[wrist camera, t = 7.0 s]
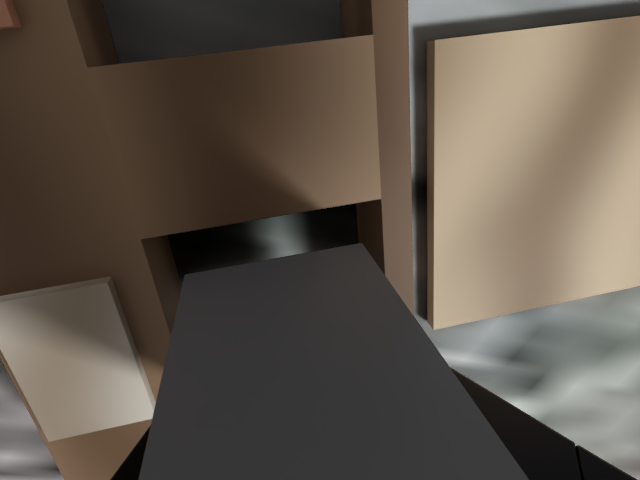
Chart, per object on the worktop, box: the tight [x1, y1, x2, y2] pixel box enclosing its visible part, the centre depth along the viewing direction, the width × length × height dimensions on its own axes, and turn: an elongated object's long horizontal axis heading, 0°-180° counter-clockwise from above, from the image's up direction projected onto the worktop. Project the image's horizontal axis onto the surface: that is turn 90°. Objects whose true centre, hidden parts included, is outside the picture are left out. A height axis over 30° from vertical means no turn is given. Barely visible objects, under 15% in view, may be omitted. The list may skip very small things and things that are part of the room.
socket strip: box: [0, 0, 414, 480], centre depth 10 cm, size 10×18×3 cm, turn 6°
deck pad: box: [427, 15, 640, 330], centre depth 13 cm, size 9×9×1 cm
